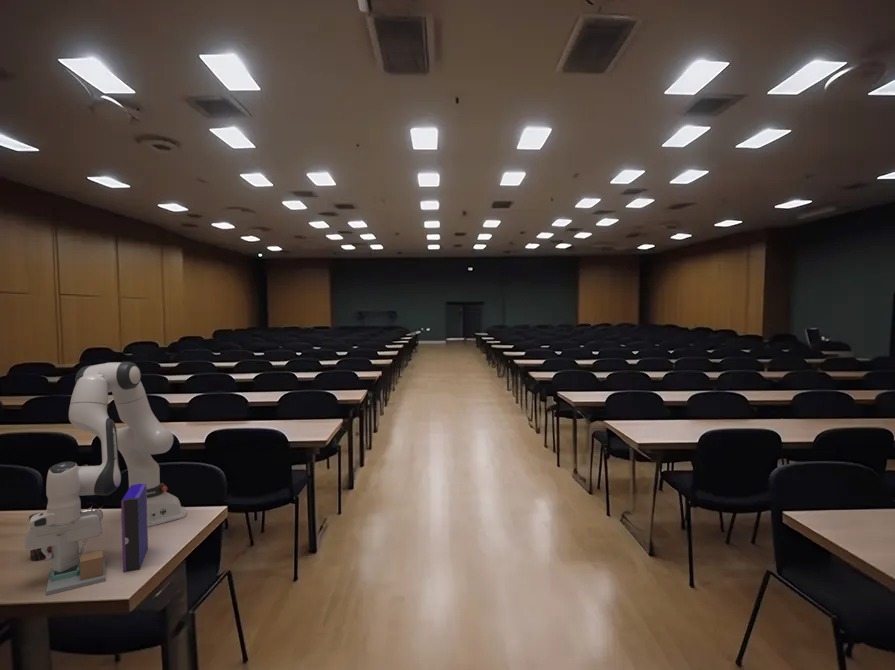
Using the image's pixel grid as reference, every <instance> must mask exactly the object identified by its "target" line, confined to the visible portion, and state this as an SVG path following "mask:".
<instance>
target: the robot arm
mask: <svg viewBox="0 0 895 670" xmlns="http://www.w3.org/2000/svg"><path fill="white" fill-rule="evenodd" d="M141 379H142V371H141V368H140V367H139V366H138V365H137V364H136V363H134V362H131V361H121V362H119V361H118V362H117V361H116V362H106V363H99V364H94V365H91V364H90V365H86V366H83V367H81V368H80V369H79V370H78V371H77V373H76V375H75V385H74V387H73V391H72V394H71V397H70V404H69V408H68V420H69V422H70V423H71V425H72V426H73V427H75V428H76V429H79V430H80V431H83V432H86V433H89V434H92V435H95V436H97V437H98V438H99V440H100V444H101V462H102V463H101V464H100V465H85V466H82V465H81V466H79V465H78V464H77V463H76V462H74V461H63V462H59V463H56V464H54V465H52V466H51V467H50V468H49V469H48V472H47V476H46V486H45V489H46V490H45V492H46V497H47V505H46V510H43V511H41V513H40V512H37V513H38V514H36V513H35V514H36V515H34V516H32V517H31V519H30V521H28V522H29V525H30V526H28V529H27V530H26V534H25V538H24V539H25V540H24V549H25V550H26V551H29V552H30V550H34V549H39V548H41V551H42V553H43V554H44V555H45V556H46V559H45V561H50V560H51V561H52V553H48V551H47V547H49V546H55V545H56V535H60V534H65V533H67V542H68V543H70V542H75V541H78V542H79V541H82V545H81V546H78V547H79V548H78V551H79V555H81V554H85V547H86V546H87V545H88V542H89V539H95V538H99V537H101V536H102V534H103V527H102V520H103V518H104V513H103V511H102V510H101V509H98V508H92V509H85V510H81V509H82V508H81V507H82V505H81V503H82V501H81V498H80V496H94V495H95V496H110V495H111V494H112V493H114V492H115V491H116V490H117V489H118V488H119V487H120V485H121V482H122V481H121V480H122V473H121V469H120V464H119V463H120V462H119V453H120V454H121V456H122V457H123V459H124V462H125V464H126V468H127V471H128V472H127V474H128V488H127V491H128V490H129V488H130V487H131V485H137V484H146V488H147V527H148V528H149V527H152V526H157V525H160V524H164V523H167V522H172V521H176V520H180V519H183V518H185V517H187V515H188V510H187V509H186V507H184V506H182V505H181V502H180V500H179V498H178V497H177V496H175V495H174V494H171V493H169V492H167V491H168V487H167V485H165V484H164V483H163V482H160V480H161V479H160V476H161V475H160V466H159V463H158V462H157V461H156V460H155V459H154V458H153V456H152V455H159V454H164V453H167V452H169V450H171V448H172V446H173V444H174V435H173V433H172V431H170V430H169V429H167V428H166V426H164V425H163V424H162V423H161V422H160V421H159V420H158V418H157V416H155V414H154V412H153V411H152V408H151V406H150V402H149V400H148V396H147V393H146V390H145V387H144V386H143V383H142V381H141ZM109 393H112V399H113V400H114V405H115V407H116V410H117V413H118V417H119V419H120V421H121V422H123V423H124V424H125V425H126V426H123V427H120V428H118V430H117V426H116V423H115V421H114V420H113V419H111V418H110V416H109V414H108V400H109Z"/></svg>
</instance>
